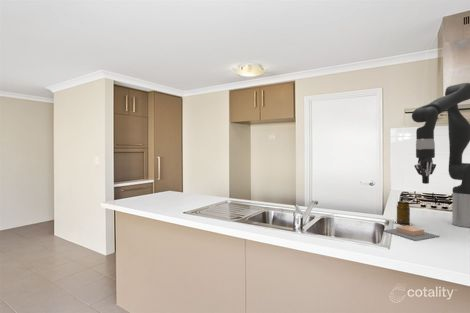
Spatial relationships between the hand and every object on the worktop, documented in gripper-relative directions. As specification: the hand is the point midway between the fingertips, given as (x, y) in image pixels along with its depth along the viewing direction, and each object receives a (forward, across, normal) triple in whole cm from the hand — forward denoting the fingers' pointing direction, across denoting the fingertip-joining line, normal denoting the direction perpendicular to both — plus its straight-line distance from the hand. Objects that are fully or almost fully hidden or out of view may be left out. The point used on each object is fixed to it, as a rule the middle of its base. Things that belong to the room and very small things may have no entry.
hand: (425, 183), depth 131 cm
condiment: (+24, -4, -14) cm, 28 cm away
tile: (+22, +7, 0) cm, 23 cm away
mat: (+24, +11, 0) cm, 26 cm away
